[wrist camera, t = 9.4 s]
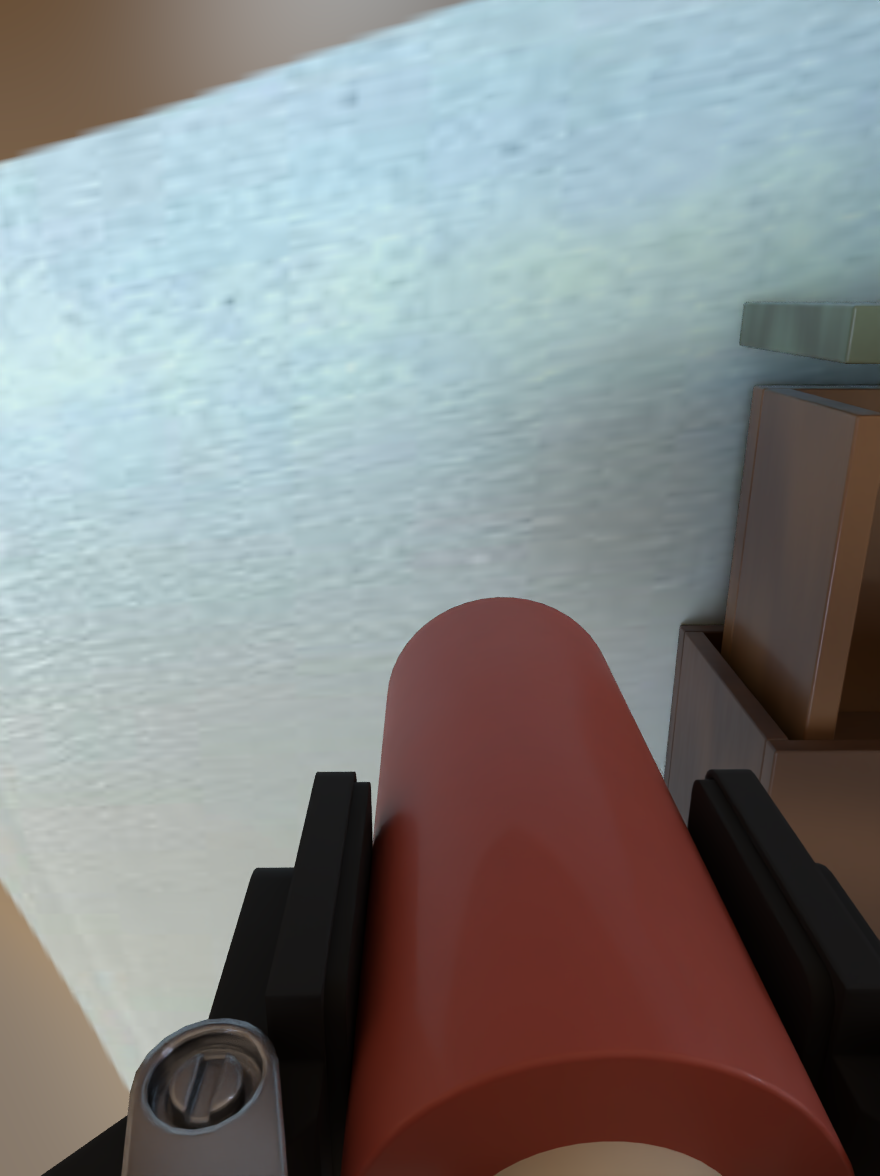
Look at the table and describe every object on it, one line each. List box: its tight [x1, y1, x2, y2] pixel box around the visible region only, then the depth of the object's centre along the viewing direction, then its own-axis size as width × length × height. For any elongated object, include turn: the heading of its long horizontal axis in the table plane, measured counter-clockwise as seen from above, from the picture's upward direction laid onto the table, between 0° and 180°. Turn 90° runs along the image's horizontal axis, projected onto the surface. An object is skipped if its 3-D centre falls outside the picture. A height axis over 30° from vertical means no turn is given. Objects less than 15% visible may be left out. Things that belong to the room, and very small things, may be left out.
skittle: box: [340, 597, 855, 1176], centre depth 10 cm, size 4×4×14 cm
